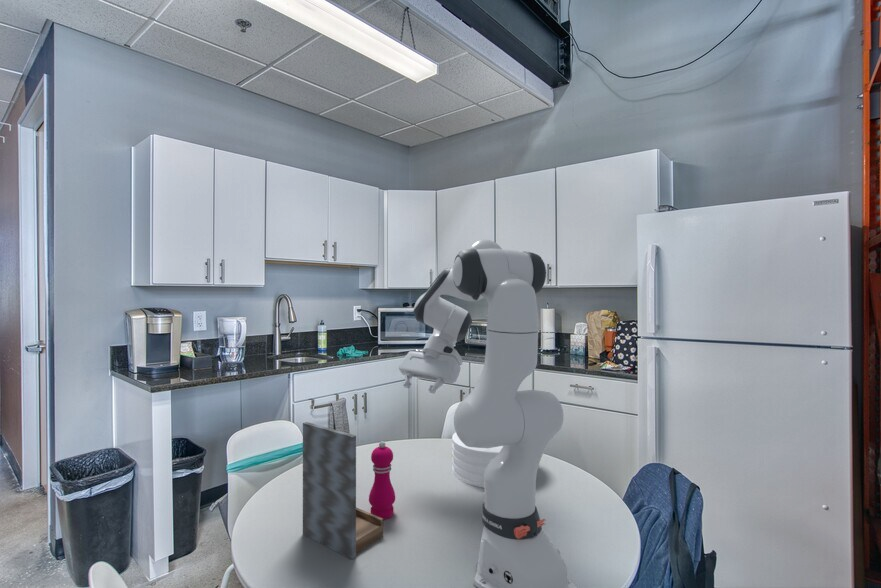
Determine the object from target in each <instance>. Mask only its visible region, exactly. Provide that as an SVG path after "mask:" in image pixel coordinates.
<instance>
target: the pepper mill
mask: <svg viewBox="0 0 881 588" xmlns="http://www.w3.org/2000/svg"><path fill="white" fill-rule="evenodd" d="M370 460H371V462H372V463H373V465H372V471H373V472H374V480H373V484H372V487H371V489H370V491H369V494H368V502H369V504H370V506H371V507H370V513H371V514H373V515H376V516H378V517H380V518H383V520H387V519H390V518H392V517H393V515H394V512H395V511H394V503H395V501H396V492H395V489H394V487H393V484H392V482H391V477H390V475H391V473H390V472H391V470H392V462H393V460H394V453H393V450H392V449H391V448H390V447H388V446H386V442H385V441H383V440H382V441H380V442H379V443H378V446H377V447H375V448H374V449H373V450H372V452H371V456H370Z"/></svg>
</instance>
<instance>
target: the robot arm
mask: <svg viewBox="0 0 881 588" xmlns="http://www.w3.org/2000/svg"><path fill="white" fill-rule="evenodd" d="M546 278H547V268H546V264H545V262H544V260H543V259H542V257H541V256H540V255H539V254H536V253H534V252H531V251H527V250H526V251H518V250H510V249H502V247H501V246H500V245H499V243H497V242H495V241H493V240H490V239H480V240H477V241H475V242H474V243H473V244H472V245H470V247H469V248H468V249H463V250H461V251H459V252H458V254H456V256H455V258H454V261H453V265H452V268H451V267H450V268H449V267H447V268H445V269H443V270H442V271H441V272H440V273H439V274H438V275H437V277H436V278H435V279H434V280H433V282H432V283H431V284H430V285H429V287H428V288H427V289H426V290H425V291H424V292H423V294H421V295H420V296H419V297H418V298H417V299H416V302H415V304H414V305H413V306H414V307H413V311H412V312H413V316H414V318H415V320H416V321H417V322H419V323H421V324H424V325H426V326H429V327H430V328H432V329H433V332H432V334H431V335H430V336H429V338H428V339H427V341H426V343H425V344H424V346H423V349H416V348H413V350H412V349H411V350H410V351H408V352H407V353H406V355H405V356H404V358H403V359H402V360H401V362H400V363H399V365H398V370H399V372H400V373H401V374H402V375H403V376H404V380H405V381H404V382H403V384H402V385H403V388H406V389H410V388H411V385H412V383H411V381H410V380H412V378H419V379H422V380H428V381H435V383H434V384H433V385H432V384H431V385H429V387H428V392H429V393H431V394H435V393H436V391H437V390H438V389H439V388H441V387H442V386H443V385H444V383H445V384H451V385H454V384H455V383H456V382H457V381H458V378H459V376H460V372H461V366H462V365H463V362H464V361H463V359H462V356H461V355H460V354H459V352H458V350H457V349H456V348H455V345H456V343H458V342H461V341H463V340H464V339H466V337H467V333H468V330H469V329H470V327H471V326H472V324H473V320H472V319H473V318H472V317H471V316H472V315H471V313H470V312H469V311H468V310H466V309H464V308H463V307H460V306H459V305H457V304H454V303H452V302H450V301H448V300H447V299H444V298H442V297H441V296H443V295H445V296H449V297H450V296H451V297H453V298H456V299H460V300H462V301H467V302H477V301H481V300H482V299H485V300H486V302H487V305H488V306H487V308H488V309H487V310H488V311H487V317H486V339H485V342H486V343H485V344H486V345H485V354H484V363H483V368H482V371H481V373H480V376H479V379H478V380H477V382H476V384H475V386H474V388H473V389H472V390H471V392H470V393H469V394H468V395H467V396H466V397H465V398H464V399H463V400H462V401H461V402H460V403H459V404H458V405H457V407H456V409H455V412H454V416H453V426H454V430H455V432H456V434H457V436H458V437H459V439H460V440H461V441H462V443H464V444H465V445H466V446H468V447H475V448H493V447H499V446H503V447H502V449H501V451H500V452H499V454H498V455H497V456H496V457H495V458H494V459H493V460H491V461H490V462H489V464H488V465H487V467H486V470H485V474H484V488H483V489H484V491H483V492H484V493H483V494H484V495H483V496H484V497H483V498H484V500H483V503H482V506H481V522H482V525H483V528H482V534H481V536H480V537H481V538H480V543H479V553H478V560H477V564H476V568H475V569H476V574H475V576H474V580H473V585H474V586H475V587H476V588H579V587H578V586H577V585H576V584H575V583H574V582H573V581H572V580H570V578H568V571H567V565H566V563H565V560H564V559H563V557H562V556H561V553H560V550H559V547H557V546H556V545H553V544H552V543H553V542H551V540H550V538H549V537H548V536H547V535H546V533H545V532H544V530H543V529H542V527H543V526H544V525H546V522H545V521H546V519H545V518H542V519H540V514H539V511H538V509H537V505H536V489H537V487H536V486H537V475H538V469H539V465H540V464H541V463H540V462H541V459H542V457H543V455H544V452H545V450H546V449H547V446H548V445H549V444H550V441H551V440H552V439H553V438H554V437H555V435H557V433H559V432H560V430H561V429H562V426H563V423H564V409H563V407H562V404H561V402H560V400H559V399H558V397H556V395H554V394H553V393H551V392H549V391H545V390H538V389H537V390H536V389H525V390H519V388H520V386H521V384H522V382H524V380H525V379H526V378H527V377H528V376H530V375H532V373H533V372H534V371H535V369H536V367H537V365H538V351H539V350H538V349H539V312H538V302H537V301H538V300H537V296H536V294H538V293H539V292H540V291H541V290H542V289H543V287H544V286H545V283H546Z"/></svg>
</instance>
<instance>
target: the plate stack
mask: <svg viewBox="0 0 881 588" xmlns="http://www.w3.org/2000/svg"><path fill="white" fill-rule="evenodd" d="M451 441H452V445H451V446H452V447H451V449H452V453H451V457H452V460H451V462H452V463H451V464H452V465H451V472H452V475H453V476H454V477H455V478H456V479H457V480H459V481H461V482H463V483H465V484H467V485H471V486H474V487H477V488H483V489H484V474H485V470H486V467H487V465H488V464H489V462H490V461H491V460H493V459H494V458H495V457H496V456H497V455H498V454H499V452H500V451H501V449H502V447H503V446H499V447H493V448H475V447H468V446H466V445H465V444H464V443H462V441H461V440H460V439H459V437H458V436H457V434H456V431H455V432H454V433H453V434H452V438H451Z"/></svg>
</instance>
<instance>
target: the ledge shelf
mask: <svg viewBox="0 0 881 588" xmlns="http://www.w3.org/2000/svg"><path fill="white" fill-rule="evenodd" d="M302 535H304V536H305V537H308V538H309V539H311V540H313V541H314V542H317V543H318V544H321V545H323V546H324V547H327V548H328V549H330V550H333V551H334V552H337V553H339V554H340V555H342V556H344V557H346V558H348V559H350V560H354V559H356V557H357V554H358V553H360V552H361V551H362V550H364V549H366V548H367V547H369V546H371V545H372V544H374V543H375V542H377V541H379V540H380V539H382V538H383V537H384V519H383V518H380V517H378V516H376V515H373V514H371V512H369V511H366V510H363V509H360V508H358V507H357V435H356V434H351V433H348V432H345V431H340V430H337V429H334V428H329V427H326V426H323V425H320V424H315V423H312V422H308V421H306V422H302Z"/></svg>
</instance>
